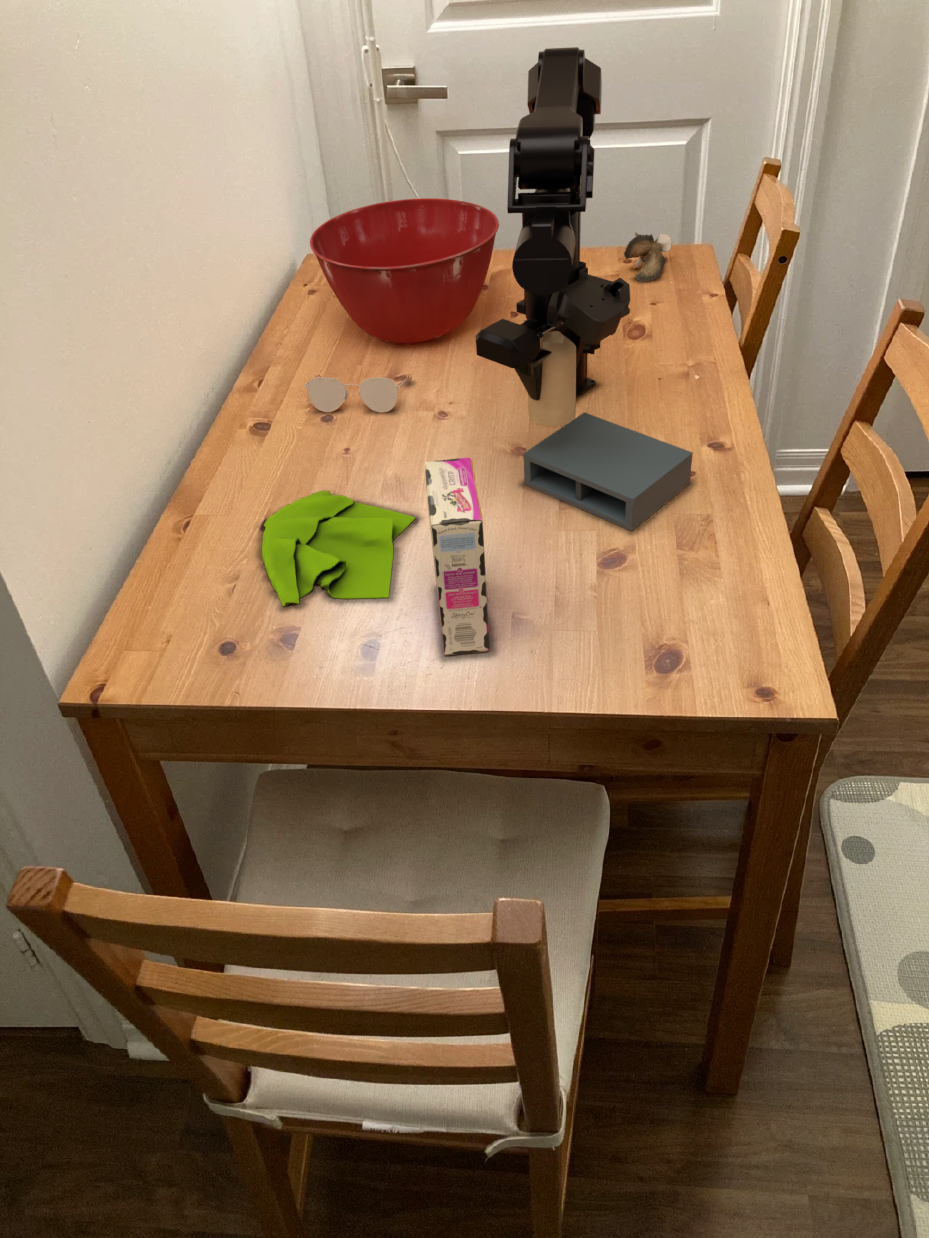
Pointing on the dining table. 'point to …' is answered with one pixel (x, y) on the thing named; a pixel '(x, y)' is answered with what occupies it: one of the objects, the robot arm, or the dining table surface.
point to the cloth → (331, 547)
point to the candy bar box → (458, 555)
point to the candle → (556, 384)
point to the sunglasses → (333, 392)
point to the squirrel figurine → (648, 255)
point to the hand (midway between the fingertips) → (551, 389)
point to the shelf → (608, 470)
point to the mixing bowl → (407, 265)
